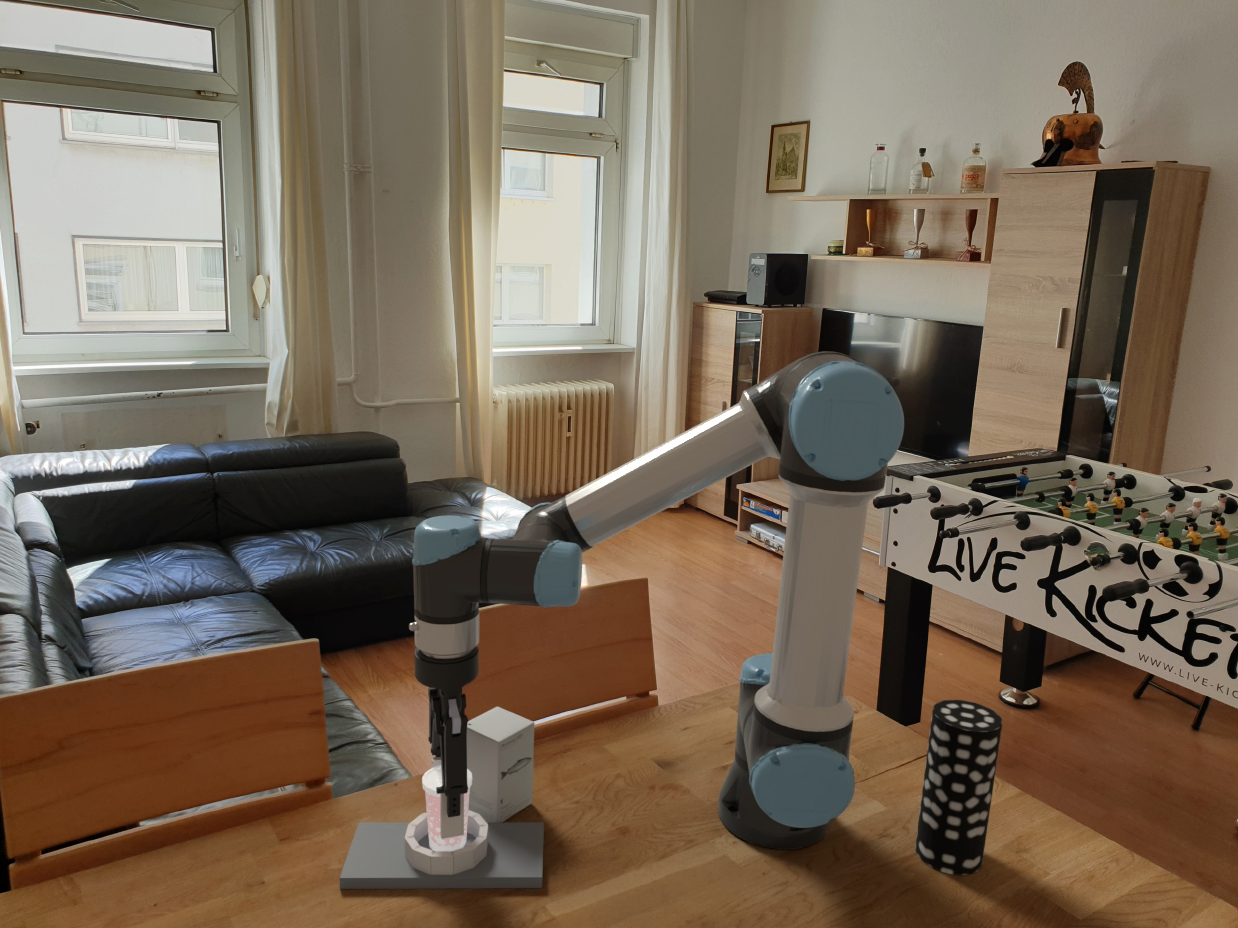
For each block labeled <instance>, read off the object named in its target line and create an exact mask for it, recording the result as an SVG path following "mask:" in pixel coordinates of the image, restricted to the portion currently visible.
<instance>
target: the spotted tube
mask: <svg viewBox="0 0 1238 928" xmlns="http://www.w3.org/2000/svg"><path fill="white" fill-rule="evenodd" d="M1003 723H1004V722H1003V719H1002V717H1001V716H1000V715H999V714H998V713H997V712H996V711H995V710H993V709H992V708H989V707H987V706H985V705H982V704H980V703H977V702H973V701H970V700H963V699H946V700H941V701H938V702H937V703H935V704H934V705H933V707H932V712H931V719H930V729H929V735H928V743H927V751H926V752H927V753H926V757H925V759H926V760H925V768H924V773H923V774H924V775H923V784H922V790H921V791H922V793H921V799H920V805H919V806H920V807H919V815H918V823H917V832H916V839H915V847H914V849H915V852H916V854H917V856H918V858H919V859H920V860H921V861H922V862H924V863H925V864H926V865H927V866H929V867H930V868H932V869H934V870H937V871H939V872H941V873H944V874H948V875H955V876H969V875H973V874H975V873H976V872H979V870H981V868H982V867H983V861H984V854H985V846H986V838H987V833H988V825H989V820H990V819H989V818H990V811H991V805H992V798H993V791H994V790H993V789H994V785H995V777H996V771H997V765H998V764H997V763H998V755H999V750H1000V744H1001V743H1000V742H1001V735H1002V729H1003V728H1002V727H1003Z"/></svg>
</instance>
